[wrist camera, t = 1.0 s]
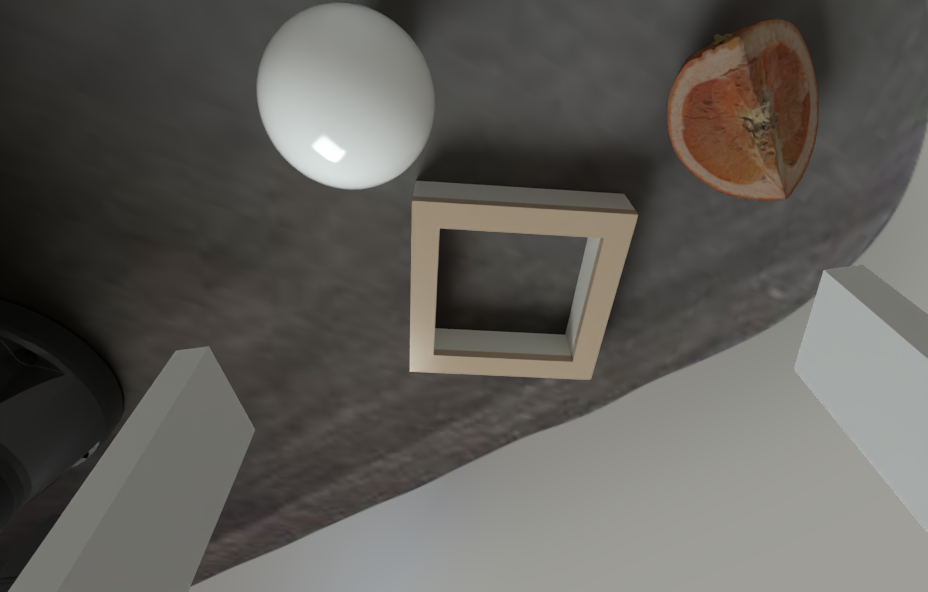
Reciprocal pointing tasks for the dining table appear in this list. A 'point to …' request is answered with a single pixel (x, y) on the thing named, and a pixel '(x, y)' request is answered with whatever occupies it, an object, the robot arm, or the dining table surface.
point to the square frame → (529, 213)
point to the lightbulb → (345, 95)
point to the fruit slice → (747, 111)
